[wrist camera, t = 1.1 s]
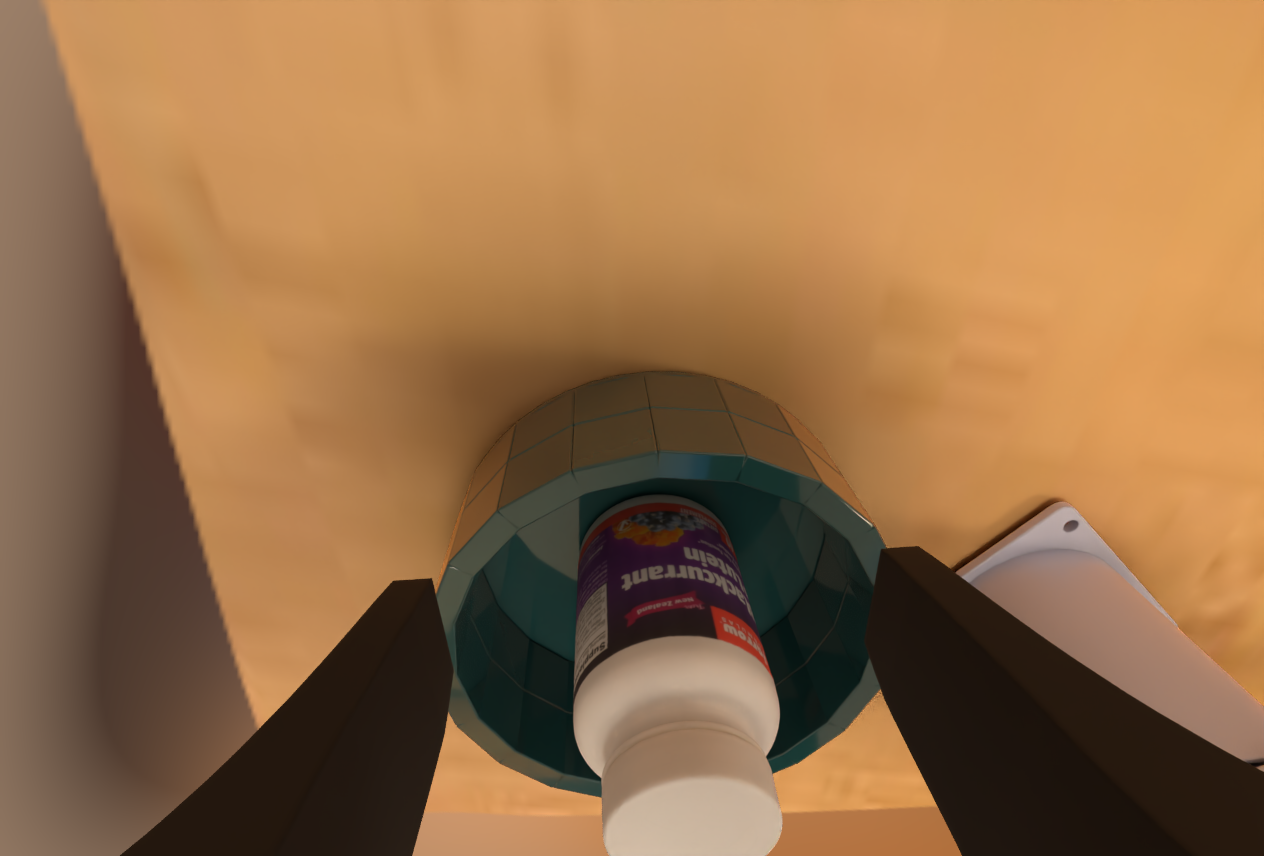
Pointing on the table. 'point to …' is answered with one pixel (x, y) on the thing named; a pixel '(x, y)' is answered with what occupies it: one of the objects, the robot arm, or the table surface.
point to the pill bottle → (673, 685)
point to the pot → (632, 467)
